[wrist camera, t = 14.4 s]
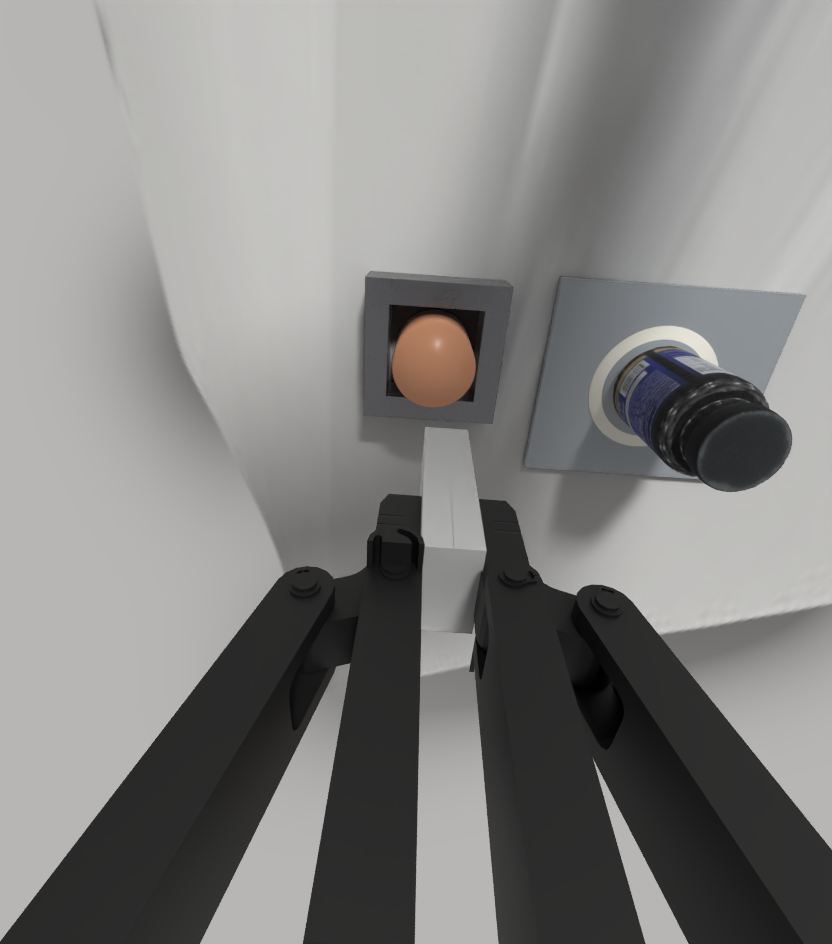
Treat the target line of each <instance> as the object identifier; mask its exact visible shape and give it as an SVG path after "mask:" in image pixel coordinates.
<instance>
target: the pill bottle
mask: <svg viewBox="0 0 832 944" xmlns="http://www.w3.org/2000/svg"><path fill="white" fill-rule="evenodd" d="M613 390H614V391H613V403H614V407H615V410H616V412H617V414H618V415H619V417H620V418H621V419H622V420H623V421H624V422H625V423H626V424H627V425H628V426H629V427H630V428H631V429H632V430H633V431H634V432H635V433H636V434H637V435H638V436H639V437H640V438H641V439H642V440H643V441H644V442H645V443H646V444H647V445H648V446H649V447H650V448H651V449H652V450H653V451H654V452H655V453H656V455H657V456H659V458H660V459H661V460H662V461H663V462H664V463H665V464H666V465H667V466H669V467H670V468H671V469H673V470H675V471H677V472H679V473H681V474H685V475H688V476H691V477H698V478H699V479H700V480H702V481H703V482H704V483H705V484H706V485H708V486H710V487H712V488H714V489H716V490H720V491H726V492H737V491H742V490H746V489H750V488H753V487H755V486H757V485H759V484H761V483H763V482H764V481H766V480H768V479H769V478H770V477H771V476H773V475H774V474H775V473H776V472H777V471H778V470H779V468H781V467H782V465H783V464H784V462H785V460H786V458H787V457H788V455H789V453H790V450H791V446H792V434H791V430H790V428H789V425H788V424H787V422H786V421H785V420H784V419H783V418H782V417H781V416H779V415H778V414H777V413H775V412H774V411H772V410H770V409H769V404H768V403H767V402H766V399H765V397H764V395H763V394H762V393H761V391H760V390H759V389H758V388H757V387H755V386H754V385H753V384H752V383H750V382H748V381H746V380H744V379H742V378H740V377H738V376H736V375H734V374H732V373H730V372H728V371H726V370H724V369H722V368H720V367H718V366H716V365H714V364H712V363H710V362H708V361H706V360H704V359H702V358H700V357H698V356H696V355H694V354H692V353H690V352H688V351H685V350H683V349H680V348H678V347H674V346H664V347H656V348H653V349H651V350H648V351H645V352H643V353H641V354H639V355H638V356H636V357H635V358H634V359H632V360H631V361H630V362H629V363H628V364H627V365H626V366H625V367H624V368H623V370H622V371H621V373H620V374H619V376H618V378H617V380H616V382H615V384H614V389H613Z"/></svg>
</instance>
